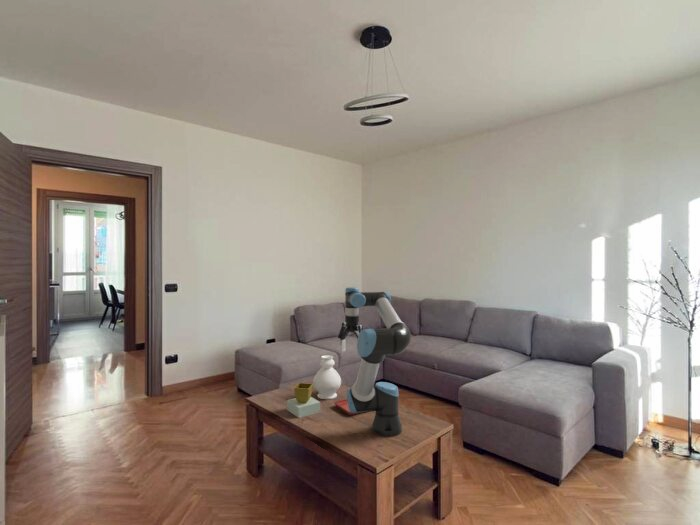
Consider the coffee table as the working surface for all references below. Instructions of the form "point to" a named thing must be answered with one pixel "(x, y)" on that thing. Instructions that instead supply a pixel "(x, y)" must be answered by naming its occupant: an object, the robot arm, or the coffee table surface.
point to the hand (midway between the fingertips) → (352, 353)
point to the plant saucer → (344, 406)
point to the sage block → (303, 407)
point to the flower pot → (303, 392)
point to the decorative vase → (327, 379)
